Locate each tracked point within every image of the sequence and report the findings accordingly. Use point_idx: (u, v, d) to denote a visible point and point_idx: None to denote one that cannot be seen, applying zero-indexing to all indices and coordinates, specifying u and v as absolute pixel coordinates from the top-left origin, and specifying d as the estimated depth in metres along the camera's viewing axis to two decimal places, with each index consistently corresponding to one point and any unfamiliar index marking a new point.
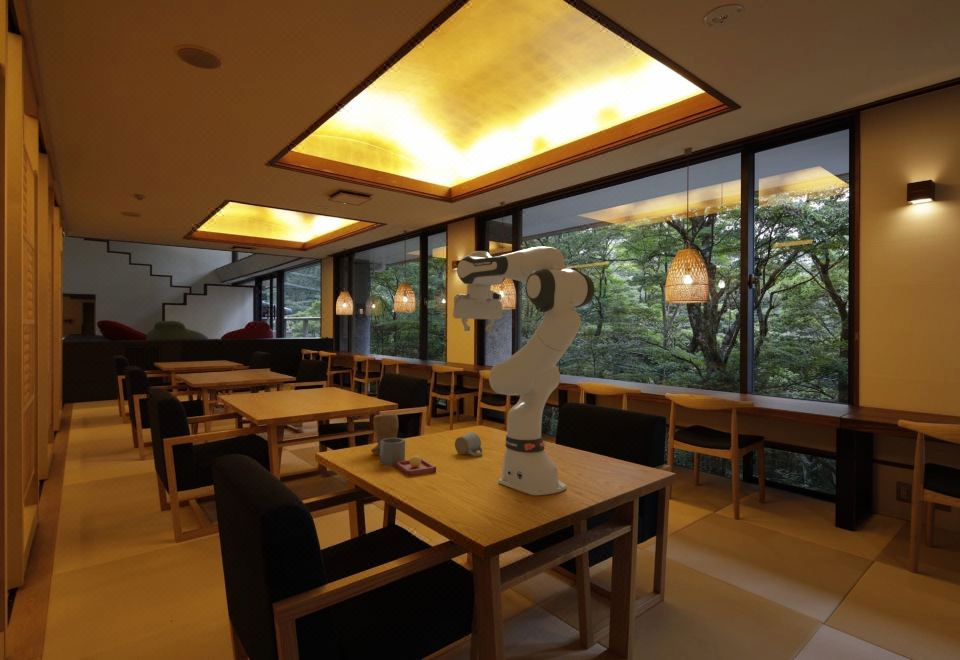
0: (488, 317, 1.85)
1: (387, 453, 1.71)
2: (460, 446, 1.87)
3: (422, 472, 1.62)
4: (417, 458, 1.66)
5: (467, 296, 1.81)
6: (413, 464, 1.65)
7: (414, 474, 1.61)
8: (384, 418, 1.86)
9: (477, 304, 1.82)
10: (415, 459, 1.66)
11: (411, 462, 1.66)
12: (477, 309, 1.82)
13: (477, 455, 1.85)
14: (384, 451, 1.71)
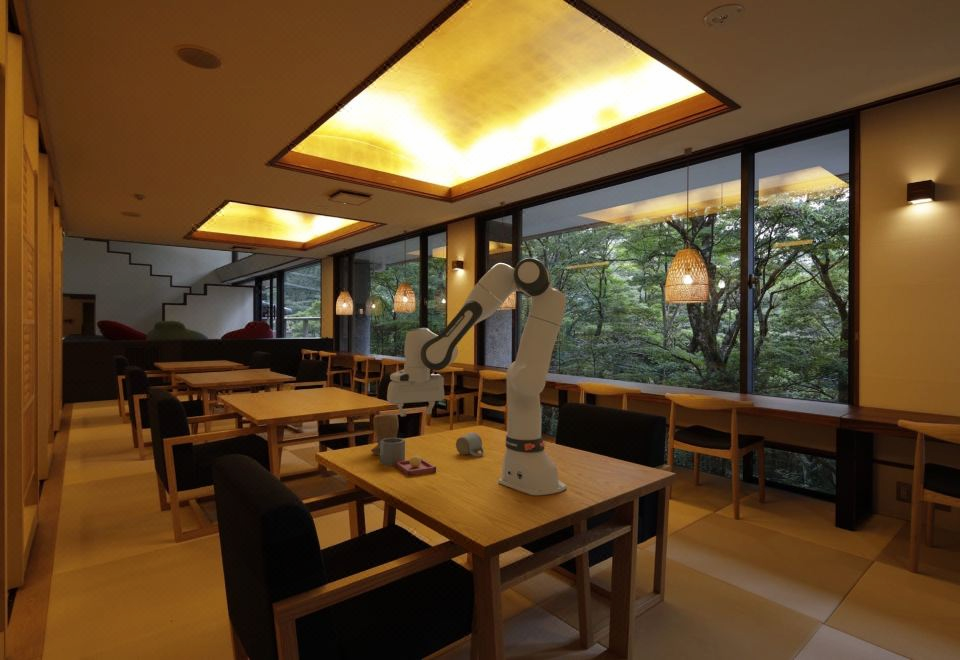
0: None
1: (387, 453, 1.71)
2: (461, 447, 1.86)
3: (422, 472, 1.62)
4: (417, 458, 1.66)
5: None
6: (413, 464, 1.65)
7: (414, 474, 1.61)
8: (384, 418, 1.86)
9: None
10: (415, 459, 1.66)
11: (411, 462, 1.66)
12: None
13: (478, 455, 1.84)
14: (384, 451, 1.71)
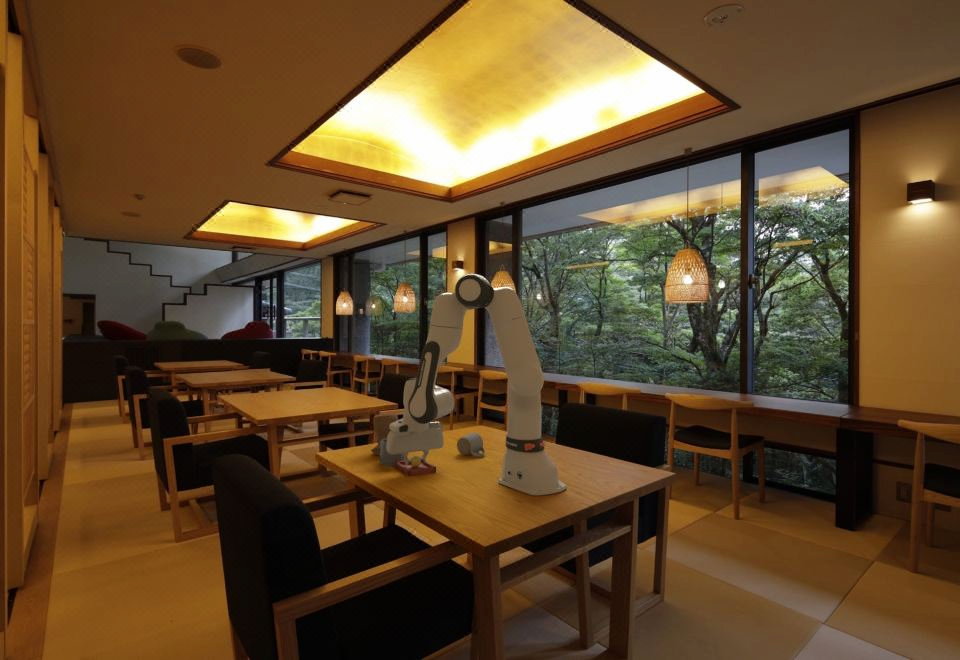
0: None
1: (387, 453, 1.71)
2: (462, 447, 1.86)
3: (422, 472, 1.62)
4: (417, 458, 1.66)
5: None
6: (413, 464, 1.65)
7: (414, 474, 1.61)
8: (384, 418, 1.86)
9: None
10: (415, 458, 1.66)
11: (411, 462, 1.66)
12: None
13: (479, 456, 1.84)
14: (384, 451, 1.71)
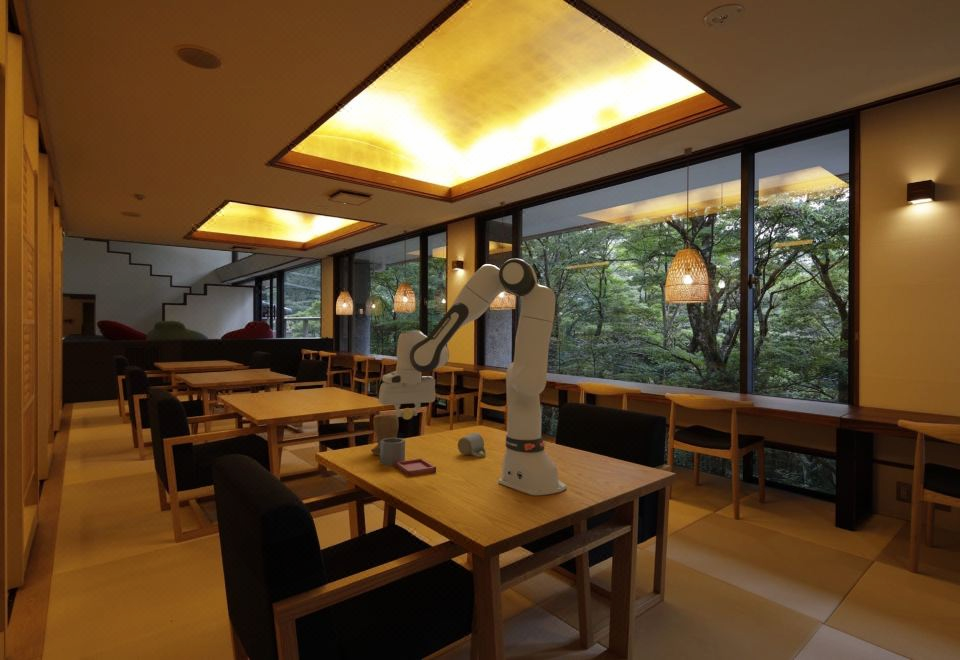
0: None
1: (387, 453, 1.71)
2: (463, 447, 1.86)
3: (422, 472, 1.62)
4: (409, 410, 1.68)
5: None
6: (405, 416, 1.68)
7: (414, 474, 1.61)
8: (384, 418, 1.86)
9: None
10: (407, 410, 1.68)
11: (403, 414, 1.68)
12: None
13: (480, 456, 1.84)
14: (384, 451, 1.71)
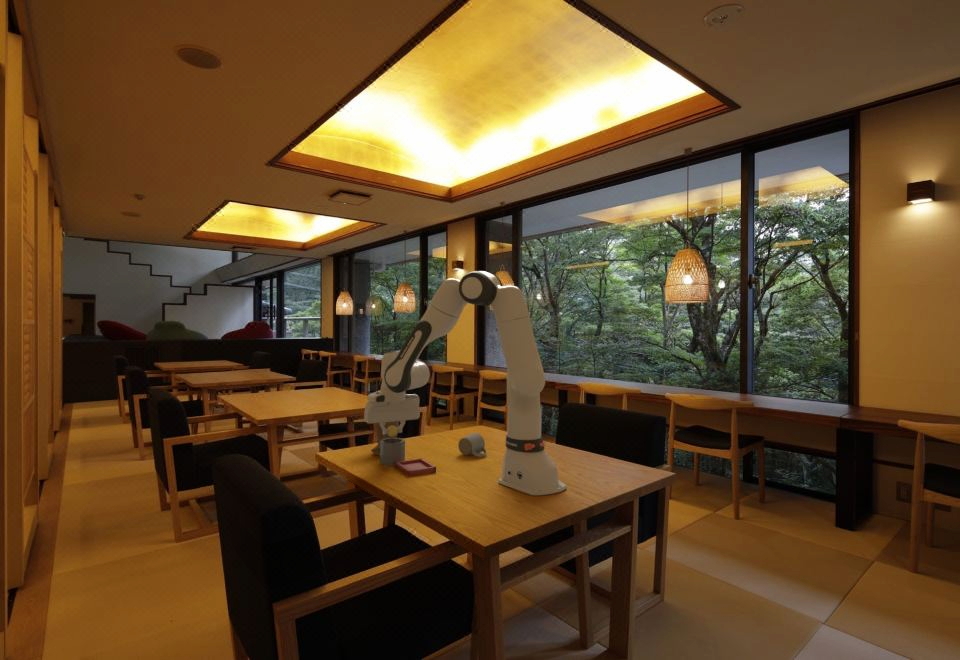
0: None
1: (387, 453, 1.71)
2: (463, 447, 1.85)
3: (422, 472, 1.62)
4: (394, 428, 1.74)
5: None
6: (390, 433, 1.73)
7: (414, 474, 1.61)
8: None
9: None
10: (392, 428, 1.73)
11: (388, 431, 1.73)
12: None
13: (481, 456, 1.83)
14: (384, 451, 1.71)
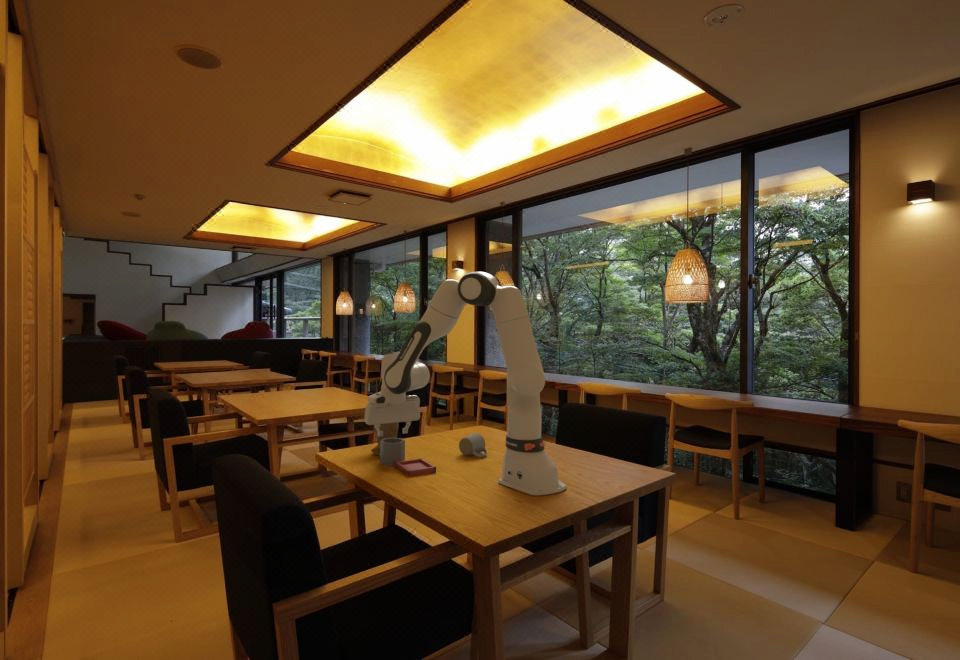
0: None
1: (387, 453, 1.71)
2: (464, 447, 1.85)
3: (422, 472, 1.62)
4: None
5: None
6: None
7: (414, 474, 1.61)
8: None
9: None
10: None
11: None
12: None
13: (481, 456, 1.83)
14: (384, 451, 1.71)
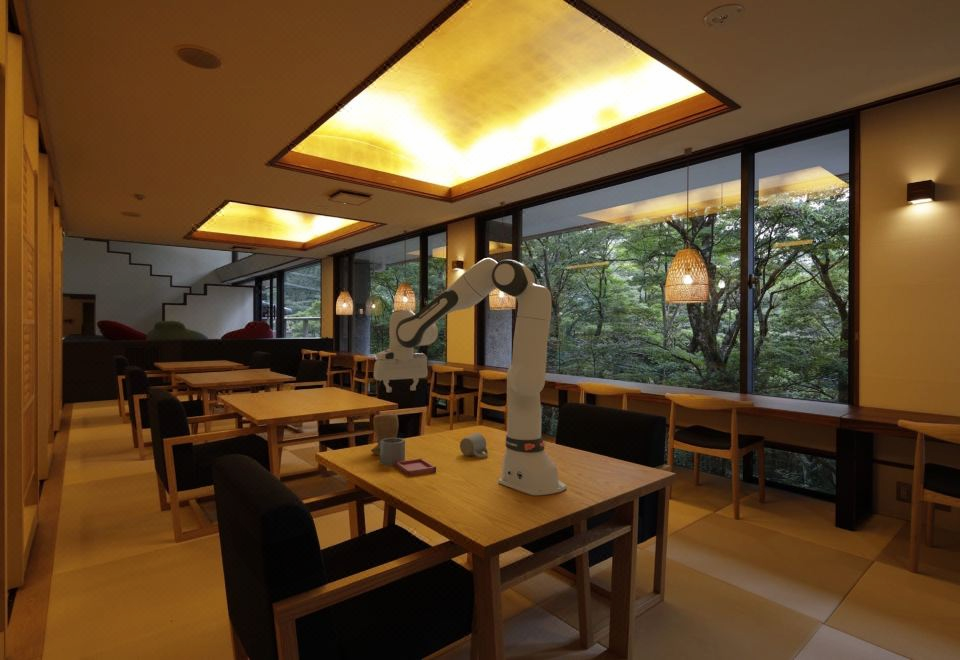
0: None
1: (387, 453, 1.71)
2: (465, 448, 1.85)
3: (422, 472, 1.62)
4: None
5: None
6: None
7: (414, 474, 1.61)
8: (384, 418, 1.86)
9: None
10: None
11: None
12: None
13: (482, 456, 1.83)
14: (384, 451, 1.71)
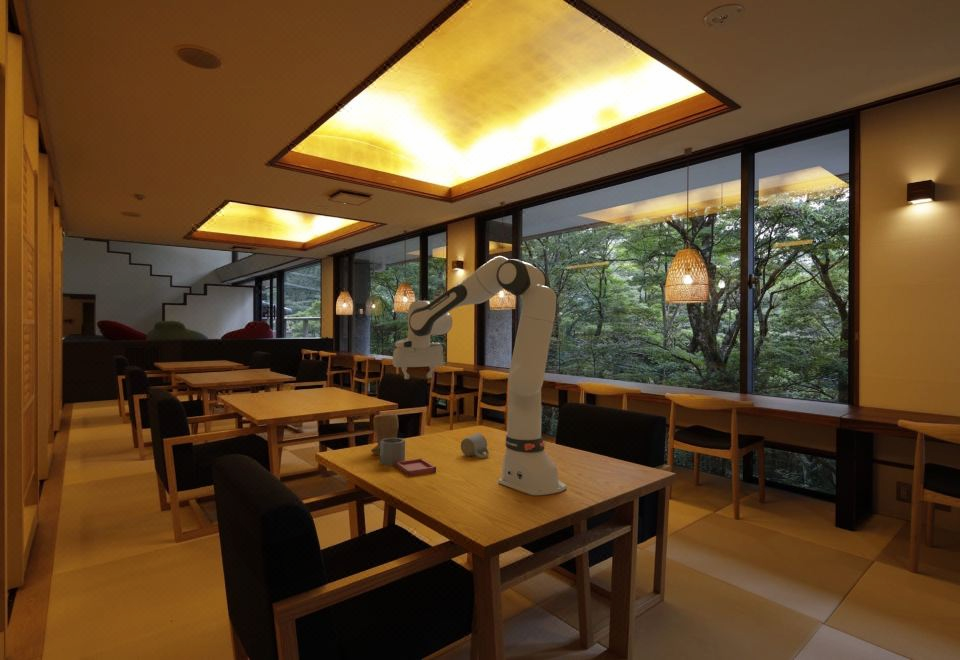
0: None
1: (387, 453, 1.71)
2: (466, 448, 1.85)
3: (422, 472, 1.62)
4: None
5: None
6: None
7: (414, 474, 1.61)
8: (384, 418, 1.86)
9: None
10: None
11: None
12: None
13: (483, 457, 1.83)
14: (384, 451, 1.71)
